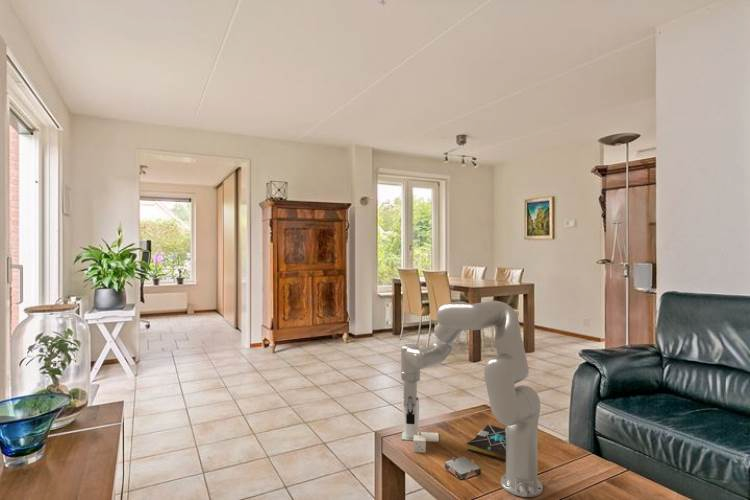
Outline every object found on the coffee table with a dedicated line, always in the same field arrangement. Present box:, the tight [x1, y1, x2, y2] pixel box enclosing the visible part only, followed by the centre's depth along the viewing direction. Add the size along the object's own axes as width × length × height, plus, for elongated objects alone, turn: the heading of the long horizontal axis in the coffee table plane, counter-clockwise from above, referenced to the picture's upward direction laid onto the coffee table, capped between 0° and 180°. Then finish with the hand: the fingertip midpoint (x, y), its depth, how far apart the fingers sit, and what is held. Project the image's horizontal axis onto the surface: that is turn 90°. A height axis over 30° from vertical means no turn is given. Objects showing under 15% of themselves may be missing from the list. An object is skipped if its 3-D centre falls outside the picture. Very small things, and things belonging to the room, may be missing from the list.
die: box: [412, 434, 427, 454], centre depth 161 cm, size 4×4×5 cm
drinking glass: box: [401, 396, 420, 438], centre depth 172 cm, size 7×7×15 cm
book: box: [466, 423, 506, 463], centre depth 164 cm, size 22×17×5 cm
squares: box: [401, 430, 440, 443], centre depth 172 cm, size 7×14×1 cm, turn 84°
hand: (410, 418), depth 172 cm, fingers open, 8 cm apart
